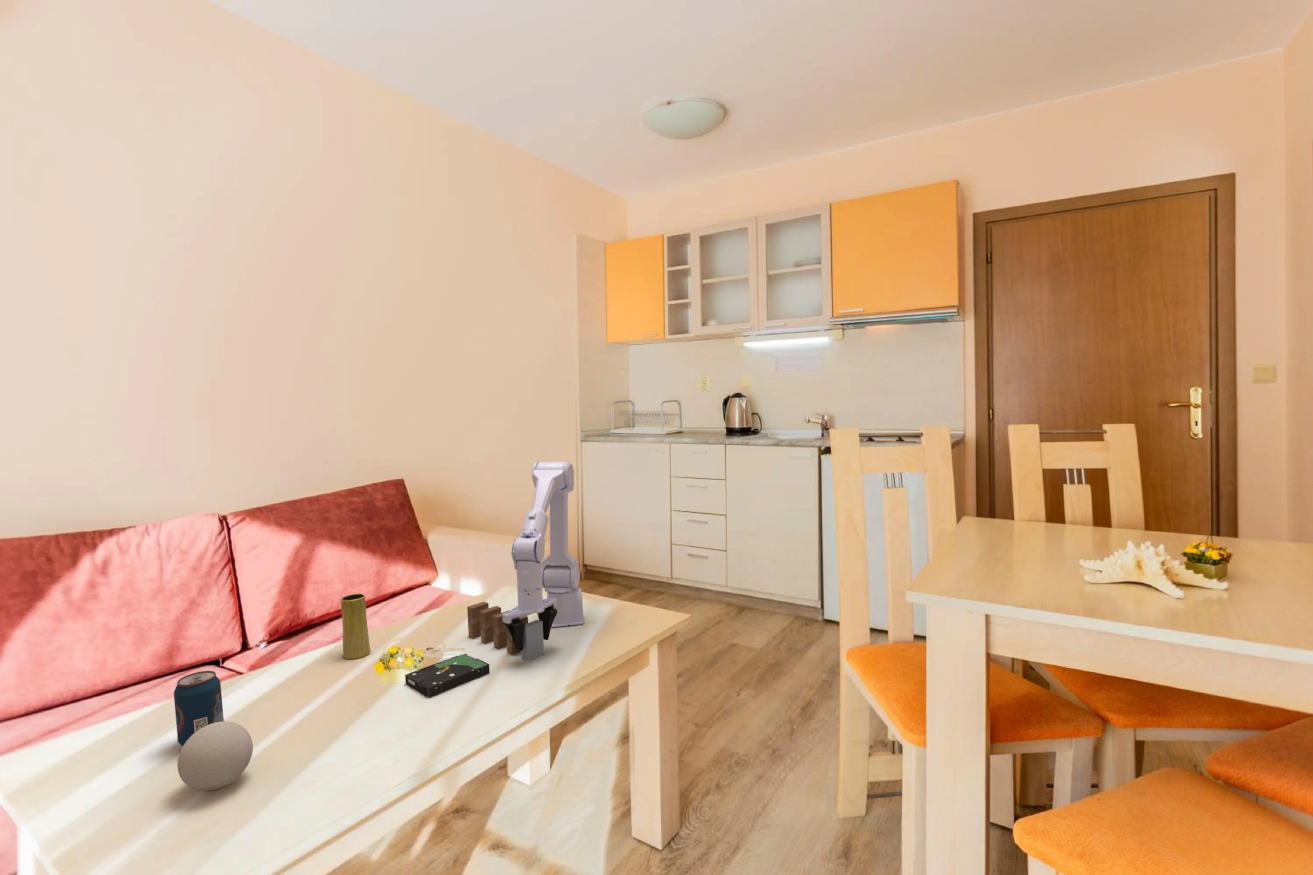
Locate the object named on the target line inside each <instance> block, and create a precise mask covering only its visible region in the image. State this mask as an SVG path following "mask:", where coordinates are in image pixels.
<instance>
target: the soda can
mask: <svg viewBox="0 0 1313 875" xmlns="http://www.w3.org/2000/svg"><path fill="white" fill-rule="evenodd" d="M173 698H174V699H173V700H174V710H175V711H174V713H175V723H176V733H177V743H178V744H179V745H180V746H181V747H183V746H184V744H185V743H186V741H187V740H188V739H189V738H190V737H191V736H192V735H193V734H194V733H195V732H197V731H198V730H199V729H201V728H203V727H205V726H207V725H209V724H212V723H216V722H225V721H224V709H223V708H224V707H223V706H224V705H223V696H222V685H221V680H220V678H219V677H218V676H217V672H215V671H213V670H202V671H201V670H200V671H196V672H193V673H189V674H187V675H184V676H183V677H181V678H179V679H178V680H177V682H176V686H175V689H174V690H173Z"/></svg>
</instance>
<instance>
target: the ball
mask: <svg viewBox="0 0 1313 875" xmlns="http://www.w3.org/2000/svg"><path fill="white" fill-rule="evenodd" d="M253 745H254V744H253V740H252V736H251V734H250V733H249V731H248V730H247V729H246V728H245V726H242V725H241V724H239V723H237V722H234V721H233V722H232V721H224V722H216V723H212V724H209V725H207V726H205V727H203V728H201V729H199V730H198V731H197V732H195V733H194V734H193V735H192V736H191V737H190V738H189V739H188V740H187V741H186V743H185V744H184V746H181V749H180V751H179V754H178V758H177V772H178V774H179V777H180V780H181V781H182V782H183V783H184V784H185V785H186V786H187V787H189V788H191V789H192V790H196V791H201V792H202V791H204V792H205V791H215V790H219V789H222V788H225V787H226V786H228V785H230V784H231V783H233V782H234V781H235V780H237V779H238V778H239V777H240V776H241V775H242V774H243V773H244V772H245V770H246V769H247V767H248V765H249V763H250V762H251V759H252V756H253V752H254V751H253V749H254V746H253Z"/></svg>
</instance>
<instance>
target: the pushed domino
mask: <svg viewBox="0 0 1313 875" xmlns="http://www.w3.org/2000/svg"><path fill="white" fill-rule="evenodd" d="M488 608H490V606H489V602H486V601H481V602H478V603H475V604H472V605H468V606H467V607H466V609H467V628H468V632H467V633H468V638H470V639H472V640H474V639H477V638H481V631H480V611H482V610H485V609H488Z"/></svg>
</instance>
